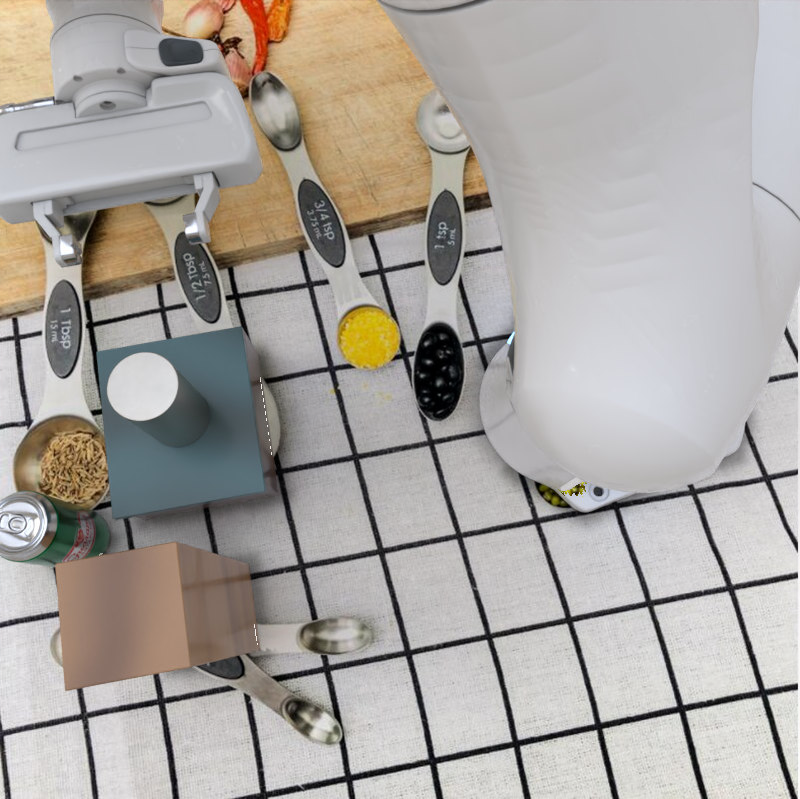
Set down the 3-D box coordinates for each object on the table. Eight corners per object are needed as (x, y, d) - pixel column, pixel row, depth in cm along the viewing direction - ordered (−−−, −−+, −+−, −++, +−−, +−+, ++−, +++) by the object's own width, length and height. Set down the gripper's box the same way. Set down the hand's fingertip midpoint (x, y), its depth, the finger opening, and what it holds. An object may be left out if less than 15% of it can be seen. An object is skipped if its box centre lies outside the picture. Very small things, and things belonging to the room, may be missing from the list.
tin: (205, 381, 65) (173, 345, 56) (213, 440, 64) (182, 413, 55) (144, 392, 65) (103, 358, 56) (151, 452, 64) (110, 427, 55)
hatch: (267, 492, 63) (265, 491, 63) (116, 520, 63) (112, 519, 62) (243, 329, 67) (241, 325, 66) (99, 354, 66) (96, 351, 66)
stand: (248, 563, 69) (176, 541, 48) (260, 650, 67) (190, 667, 46) (165, 579, 69) (54, 563, 47) (174, 666, 67) (64, 691, 46)
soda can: (102, 575, 69) (39, 568, 57) (43, 563, 69) (-31, 553, 57) (119, 515, 70) (61, 496, 58) (62, 503, 70) (-7, 481, 59)
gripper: (-43, 84, 60) (-33, 258, 57) (237, 38, 61) (264, 207, 57) (-2, 133, 66) (10, 293, 63) (253, 90, 67) (278, 246, 63)
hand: (134, 252), depth 60 cm, fingers open, 8 cm apart
